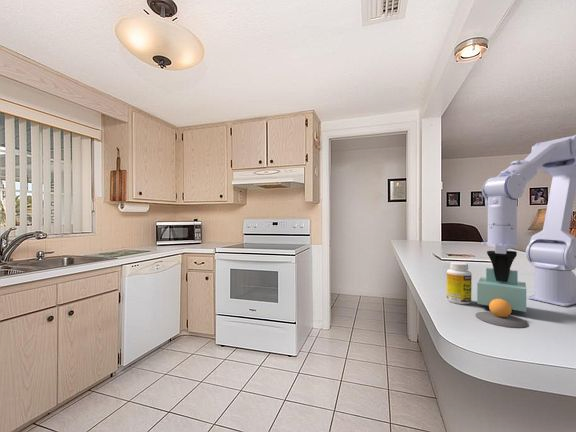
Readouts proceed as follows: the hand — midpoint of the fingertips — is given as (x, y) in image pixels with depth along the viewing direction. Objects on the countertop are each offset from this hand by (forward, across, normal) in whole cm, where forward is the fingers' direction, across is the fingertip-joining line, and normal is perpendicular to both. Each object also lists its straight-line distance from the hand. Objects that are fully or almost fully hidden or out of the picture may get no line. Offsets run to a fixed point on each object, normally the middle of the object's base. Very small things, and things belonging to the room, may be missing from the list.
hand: (501, 280), depth 67 cm
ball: (+5, +8, 0) cm, 9 cm away
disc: (+7, +10, 0) cm, 12 cm away
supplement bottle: (+7, 0, -9) cm, 11 cm away
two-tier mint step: (+6, 0, 0) cm, 6 cm away
